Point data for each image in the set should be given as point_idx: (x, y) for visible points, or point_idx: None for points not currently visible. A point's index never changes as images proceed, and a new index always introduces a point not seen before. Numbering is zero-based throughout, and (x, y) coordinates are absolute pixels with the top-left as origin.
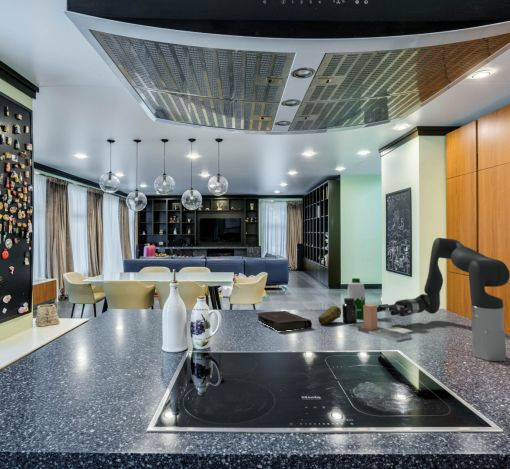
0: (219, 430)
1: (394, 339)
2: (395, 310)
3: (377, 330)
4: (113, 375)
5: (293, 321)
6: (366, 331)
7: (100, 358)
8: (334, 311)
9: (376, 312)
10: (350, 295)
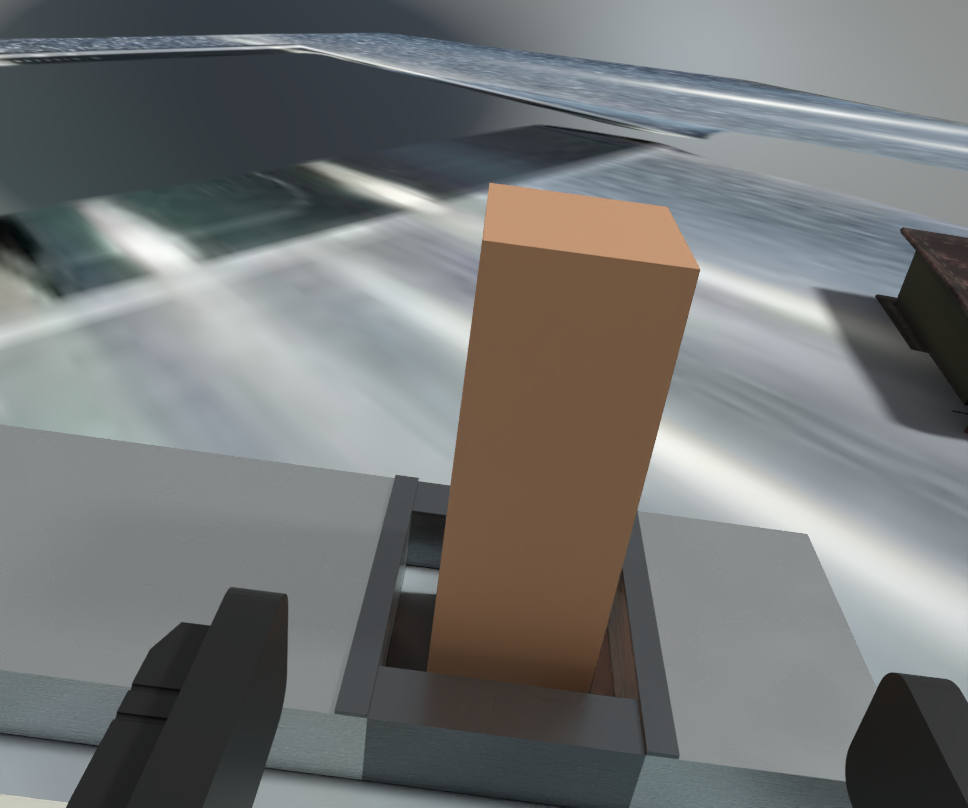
0: (201, 48)
1: None
2: (167, 737)
3: (343, 550)
4: (585, 84)
5: (939, 275)
6: None
7: (729, 103)
8: None
9: (466, 381)
10: None
